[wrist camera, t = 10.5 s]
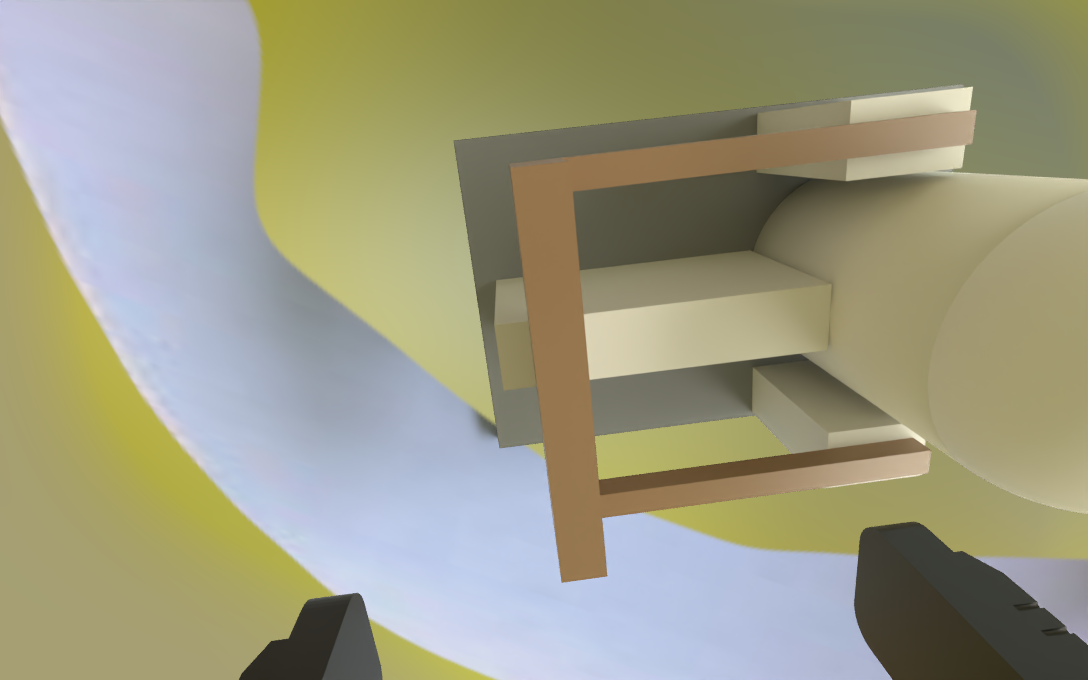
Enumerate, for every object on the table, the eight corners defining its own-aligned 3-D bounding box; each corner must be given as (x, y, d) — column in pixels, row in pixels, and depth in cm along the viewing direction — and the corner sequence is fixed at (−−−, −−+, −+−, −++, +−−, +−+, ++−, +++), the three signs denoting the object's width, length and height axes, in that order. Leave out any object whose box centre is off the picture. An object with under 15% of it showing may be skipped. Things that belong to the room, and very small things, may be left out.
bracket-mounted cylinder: (946, 86, 26) (1744, -24, 9) (910, 386, 31) (1388, 664, 14) (455, 140, 25) (364, 126, 8) (499, 438, 30) (496, 797, 13)
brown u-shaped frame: (952, 111, 18) (1069, 102, 15) (910, 459, 23) (992, 522, 19) (508, 163, 18) (510, 167, 14) (551, 508, 22) (561, 582, 18)
